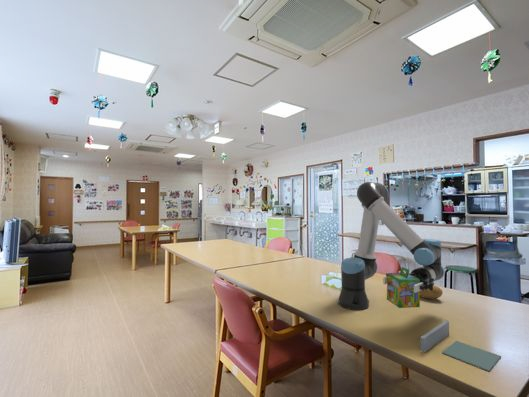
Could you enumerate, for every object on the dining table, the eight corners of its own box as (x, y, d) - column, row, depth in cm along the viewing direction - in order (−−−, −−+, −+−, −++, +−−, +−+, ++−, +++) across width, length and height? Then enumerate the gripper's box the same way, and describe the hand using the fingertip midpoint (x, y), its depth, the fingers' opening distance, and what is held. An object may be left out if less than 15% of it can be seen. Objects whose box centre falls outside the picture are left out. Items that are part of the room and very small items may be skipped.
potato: (436, 304, 139) (436, 288, 139) (411, 296, 151) (410, 281, 151) (447, 300, 143) (446, 285, 143) (421, 293, 156) (421, 279, 156)
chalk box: (386, 300, 115) (386, 265, 115) (406, 299, 116) (406, 265, 116) (399, 308, 106) (399, 271, 106) (420, 307, 107) (420, 270, 107)
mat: (442, 353, 94) (442, 352, 94) (456, 341, 101) (456, 340, 101) (489, 371, 83) (489, 370, 83) (500, 357, 91) (500, 356, 91)
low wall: (420, 351, 95) (420, 337, 95) (445, 332, 108) (445, 320, 108) (424, 352, 94) (424, 338, 94) (449, 334, 107) (448, 321, 107)
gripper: (453, 291, 112) (431, 303, 99) (396, 277, 131) (371, 286, 119) (453, 273, 112) (431, 282, 99) (396, 262, 131) (371, 269, 119)
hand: (398, 284), depth 109 cm, fingers closed on chalk box, 12 cm apart
